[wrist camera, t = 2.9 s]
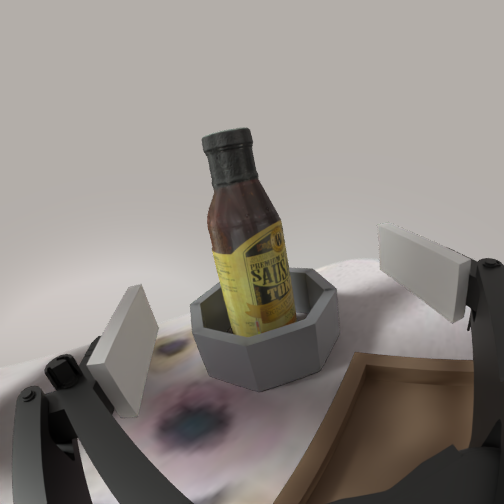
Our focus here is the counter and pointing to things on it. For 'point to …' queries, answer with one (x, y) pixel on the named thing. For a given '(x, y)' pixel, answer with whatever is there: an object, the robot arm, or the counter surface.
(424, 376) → the tray
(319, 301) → the holder cup
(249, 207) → the sauce bottle
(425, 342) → the counter surface
